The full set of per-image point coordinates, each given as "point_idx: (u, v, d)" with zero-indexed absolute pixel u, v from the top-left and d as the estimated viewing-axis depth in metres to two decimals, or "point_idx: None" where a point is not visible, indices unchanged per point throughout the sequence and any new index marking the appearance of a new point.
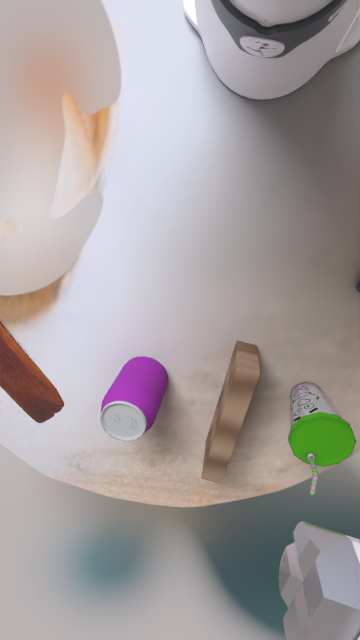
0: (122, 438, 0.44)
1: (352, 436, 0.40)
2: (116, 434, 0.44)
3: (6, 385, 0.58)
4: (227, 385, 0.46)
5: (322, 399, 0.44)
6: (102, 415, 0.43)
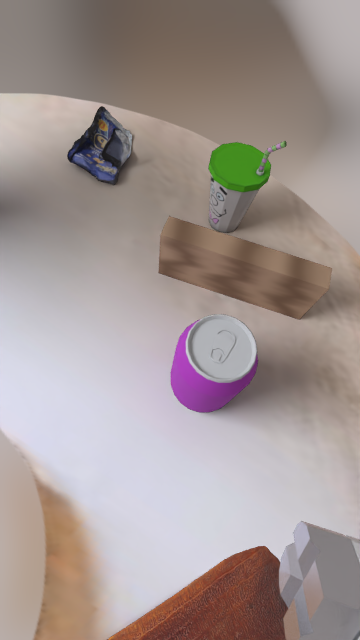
0: (253, 354, 0.28)
1: (230, 144, 0.42)
2: (248, 364, 0.28)
3: None
4: (198, 264, 0.40)
5: None
6: (211, 376, 0.27)
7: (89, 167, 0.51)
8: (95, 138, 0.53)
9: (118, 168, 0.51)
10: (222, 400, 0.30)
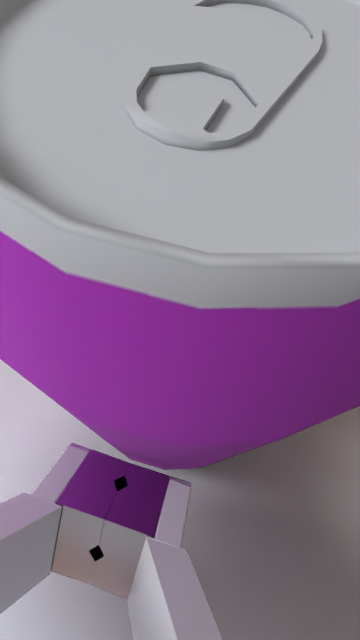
0: None
1: None
2: None
3: None
4: None
5: None
6: None
7: None
8: None
9: None
10: (242, 452, 0.06)
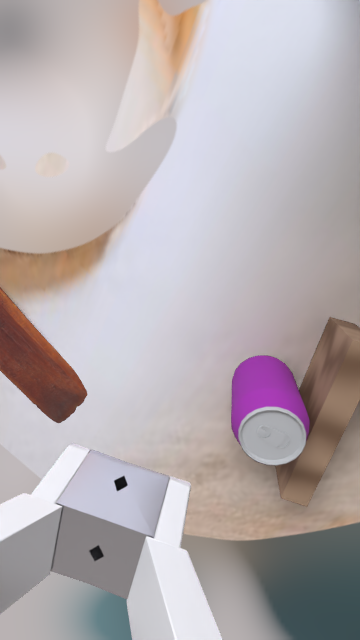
0: (264, 461, 0.32)
1: None
2: (254, 454, 0.32)
3: (16, 376, 0.47)
4: (323, 371, 0.36)
5: None
6: (243, 426, 0.31)
7: None
8: None
9: None
10: None
